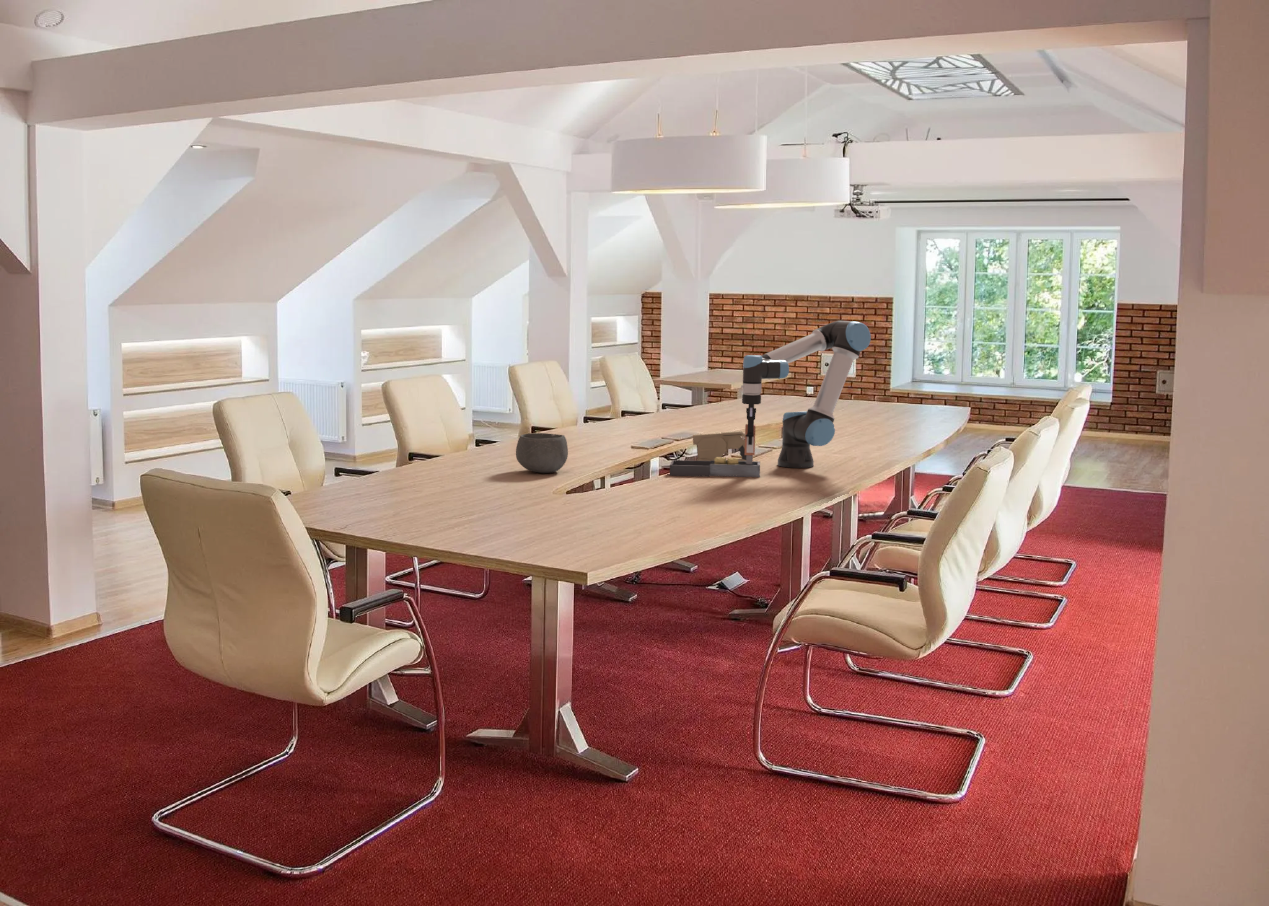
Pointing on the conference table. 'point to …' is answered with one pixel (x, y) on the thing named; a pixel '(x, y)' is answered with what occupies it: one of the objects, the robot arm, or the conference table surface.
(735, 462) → the tan cube
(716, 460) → the tan wooden cube
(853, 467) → the conference table surface
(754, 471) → the rail
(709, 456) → the gun
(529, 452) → the bowl
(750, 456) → the salmon pink rectangular prism
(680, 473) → the tray
